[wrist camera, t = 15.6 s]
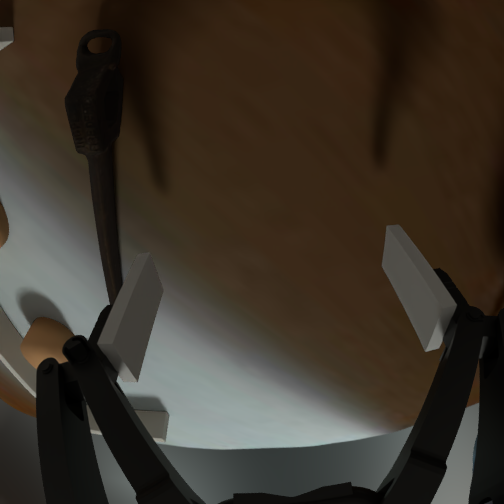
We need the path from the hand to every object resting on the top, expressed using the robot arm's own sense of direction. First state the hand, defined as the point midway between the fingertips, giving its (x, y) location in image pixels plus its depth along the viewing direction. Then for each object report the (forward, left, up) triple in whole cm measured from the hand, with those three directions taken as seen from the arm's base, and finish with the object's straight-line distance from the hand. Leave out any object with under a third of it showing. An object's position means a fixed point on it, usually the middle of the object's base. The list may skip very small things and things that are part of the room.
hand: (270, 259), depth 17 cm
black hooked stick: (+13, 0, -5) cm, 14 cm away
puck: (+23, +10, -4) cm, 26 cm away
